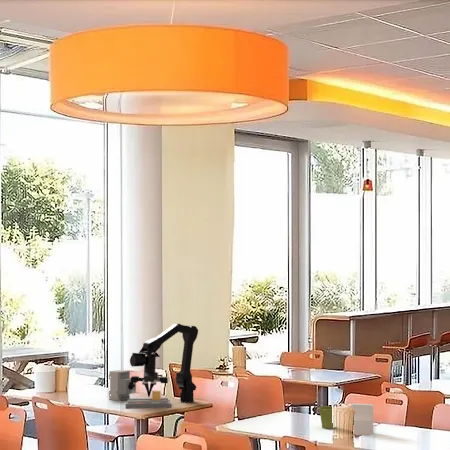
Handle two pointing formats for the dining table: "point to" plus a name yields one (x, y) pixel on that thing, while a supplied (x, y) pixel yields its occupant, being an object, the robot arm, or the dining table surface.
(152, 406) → the panel
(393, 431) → the dining table surface
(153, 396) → the toggle
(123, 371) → the circuit breaker
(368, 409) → the grey upright block
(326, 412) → the plant pot
